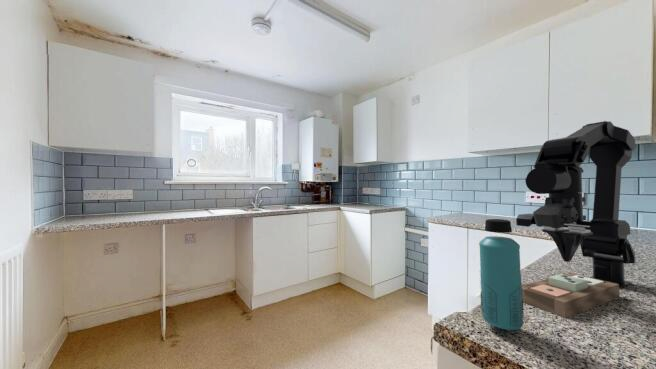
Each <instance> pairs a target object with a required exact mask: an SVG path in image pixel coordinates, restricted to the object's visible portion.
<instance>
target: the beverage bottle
mask: <svg viewBox="0 0 656 369" xmlns="http://www.w3.org/2000/svg"><path fill="white" fill-rule="evenodd" d="M484 226H485V227H484V231H486V232H491V233H499V234H500V233H503V234H504V233H512V231H513V230H512V229H513V228H512V223H511V220H508V219H501V218H490V219H486V220H485V225H484ZM478 246H479V256H480V257H479V261H480V264H479V265H480V269H479V276H480V280H479V281H480V282H479V283H480V284H479V286H480V311H481V316H482V319H483V320H484V321H485V323H486V324H487V323H488V324H489V325H491V326H493V327H495V328H499V329H503V330H506V331H507V330H508V331H515V330H520V329H522V328H523V325H524V323H525V322H524V318H525V315H524V309H525V308H524V303H523V298H522V295H523V294H522V292H523V290H522V287H523V285H524V284H523V281H522V277H523V276H522V273H521V252H520V248H521V246H520V244H519V243H518V242H517V241H515V240H514V239H513V238H511V237H507V236H497V235H495V236H494V235H490V236H485V237H484V238H483V239H481V240H480V241H479V243H478Z"/></svg>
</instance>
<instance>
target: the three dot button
mask: <svg viewBox="0 0 656 369" xmlns="http://www.w3.org/2000/svg"><path fill="white" fill-rule="evenodd" d="M547 279H548V280H549V284H550V285H553V286H557V287H560V288H564V289H568V290H571V291H575V292H578V291H581V290H585V289H588V281H587V280H583V279H579V278H575V277H571V276H566V275H564V274H562V273H560V274H556V275H552V276H549V277H548V278H547Z"/></svg>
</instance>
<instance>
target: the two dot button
mask: <svg viewBox="0 0 656 369" xmlns="http://www.w3.org/2000/svg"><path fill="white" fill-rule="evenodd" d="M579 275H580V274H577V275H575V276H571V277H575V278H579V279H583V280H587V281H588V285H589V286H593V287H594V286H597V285H600V284H603V283H604V281H600V280H596V279H592V278H588V277H589V276H586V277H583V276H584V275H582V276H579Z"/></svg>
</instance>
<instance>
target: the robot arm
mask: <svg viewBox="0 0 656 369" xmlns="http://www.w3.org/2000/svg"><path fill="white" fill-rule="evenodd" d="M635 148H636V139H635V137H634V136H633V135H632V133H631V132H630V130H629V129H625V128H623V127H619V126H616V125H614V124H613V123H612V121H607V120H604V121H598V122H593V123H587V124H585V125H583V126H582V128H580V129H578V130H576V131H575V132H573V133H571V134H569V135H568V136H565V137H561V138H556V139H551V140H550V139H549V140H546V141H545V142H544V143H543V144H542V146H541V148H540V150H539V152H538V155H537V157H536V160H535V163H534V165H533V168H532V170H530V171H529V172H528V173H527V175H526V177H525V185H526V187H527V189H528V191H529V190H530V191H531V192H532V193H535V194H538V195H543V194H544V195H548V197H546V196H545V199H544V205H542V206H540V207H538V208H537V209H536V210H534V211H533V212H532V213H521V214H518V215H517V216H516V218H515V224H516V225H515V226H518V227H519V226H520V227H527V228H528V227H531V226H532V225H536V227H539V228H541V227H543V229H541V231H542V232H543V233H546V234H548V236H550V237H551V239H552V240H553V241H554V244H555V245H556V247H557V250H558V251H559V254H560V256H561V258H562V260H563V261H564V262H568V263H569V262H571V261H572V259H573V258H574V256H575V254H576V252H577V250H578V248H579V247H580V248H581V249H580V250H581V253H582V257H584V258H586V257H587V258H591V260H592V262H591V263H592V276H589V277H590V278H595V279H599V280H603V281H608V282H612V283H616V284H619V289H621V288H625V287H628V286H630V285H632V282H631V281H627V280H625V264H626V265H628V264H633V265H634V264H636V253H635V250H634V248H633V247H632V246H633V245H632V243H631V242H630V241H629V238H628V236H629V235H631V226H630V224H629V223H628V222H627V221H626V220H623V219H621V220H620V219H619V217H620V215H619V213H620V201H621V200H620V198H621V197H620V196H621V185H622V184H621V182H622V169H623V167H624V166H626V165H627V163H628V162H630V161H631V160H632V156H633V151H634V150H635ZM587 157H589V159H590V160H591V161H592V162H593V164H594V165H595V167H596V170H595V182H594V196H593V209H592V219H591V220H587V215H586V214H585V215H584V210H583V209H584V208H583V206H584V204H583V203H586V197H585V196H583V179H582V178H583V177H582V175H583V173H584V169H583V168H582V167H581V165H582V164H583V163H584V162H585V161H586V158H587Z"/></svg>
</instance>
